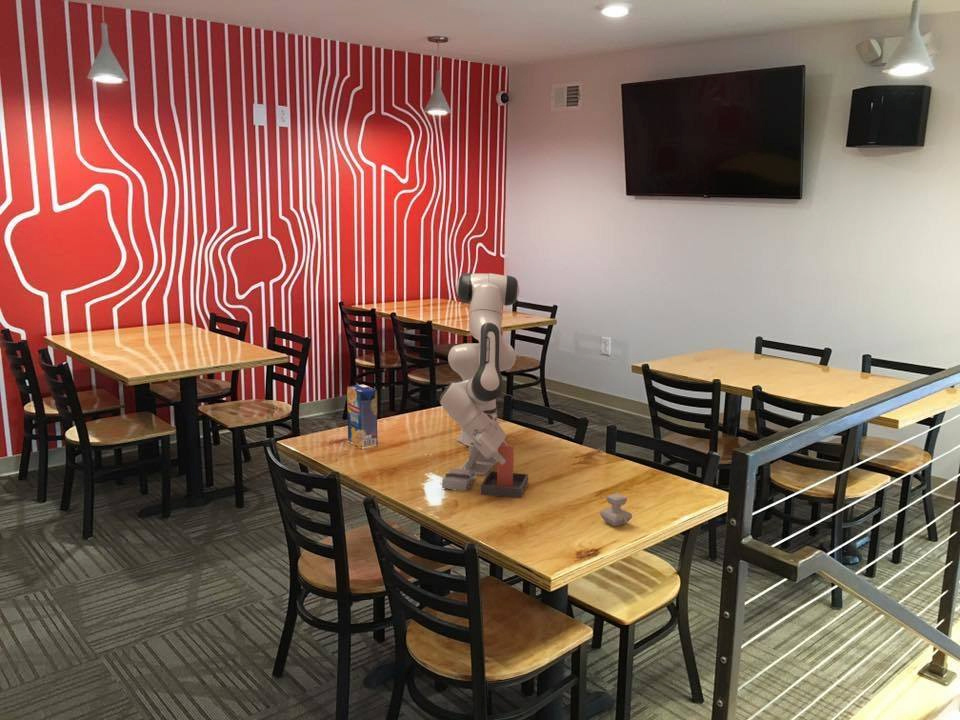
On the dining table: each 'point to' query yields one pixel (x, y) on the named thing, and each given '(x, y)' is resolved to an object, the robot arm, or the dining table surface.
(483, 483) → the tray
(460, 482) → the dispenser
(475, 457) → the phone holder
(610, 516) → the stamp
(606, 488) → the dining table surface
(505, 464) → the ticket
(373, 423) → the beverage box
